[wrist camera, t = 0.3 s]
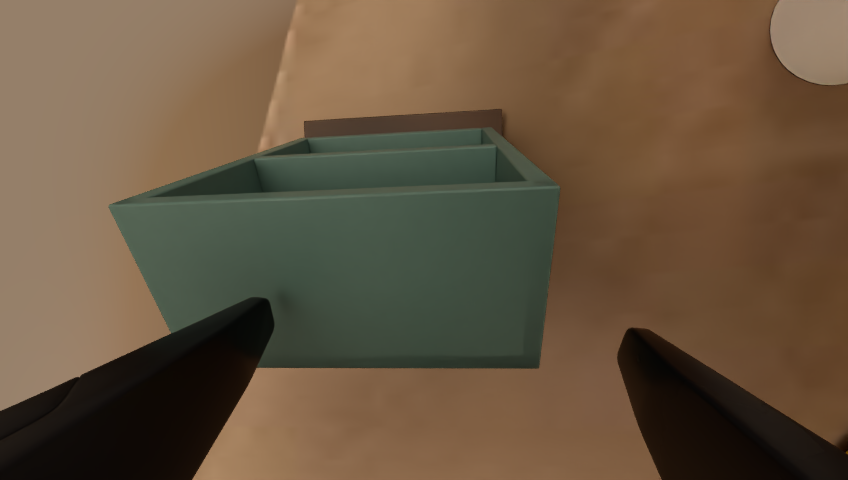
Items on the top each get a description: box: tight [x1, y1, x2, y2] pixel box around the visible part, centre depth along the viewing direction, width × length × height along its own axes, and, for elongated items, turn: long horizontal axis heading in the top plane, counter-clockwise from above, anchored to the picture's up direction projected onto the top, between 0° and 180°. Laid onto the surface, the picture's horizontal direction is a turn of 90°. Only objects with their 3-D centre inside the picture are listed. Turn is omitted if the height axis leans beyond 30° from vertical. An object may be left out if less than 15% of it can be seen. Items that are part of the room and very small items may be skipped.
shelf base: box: [304, 109, 503, 138], centre depth 22 cm, size 9×13×1 cm
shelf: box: [109, 127, 560, 369], centre depth 14 cm, size 6×11×12 cm, turn 93°
